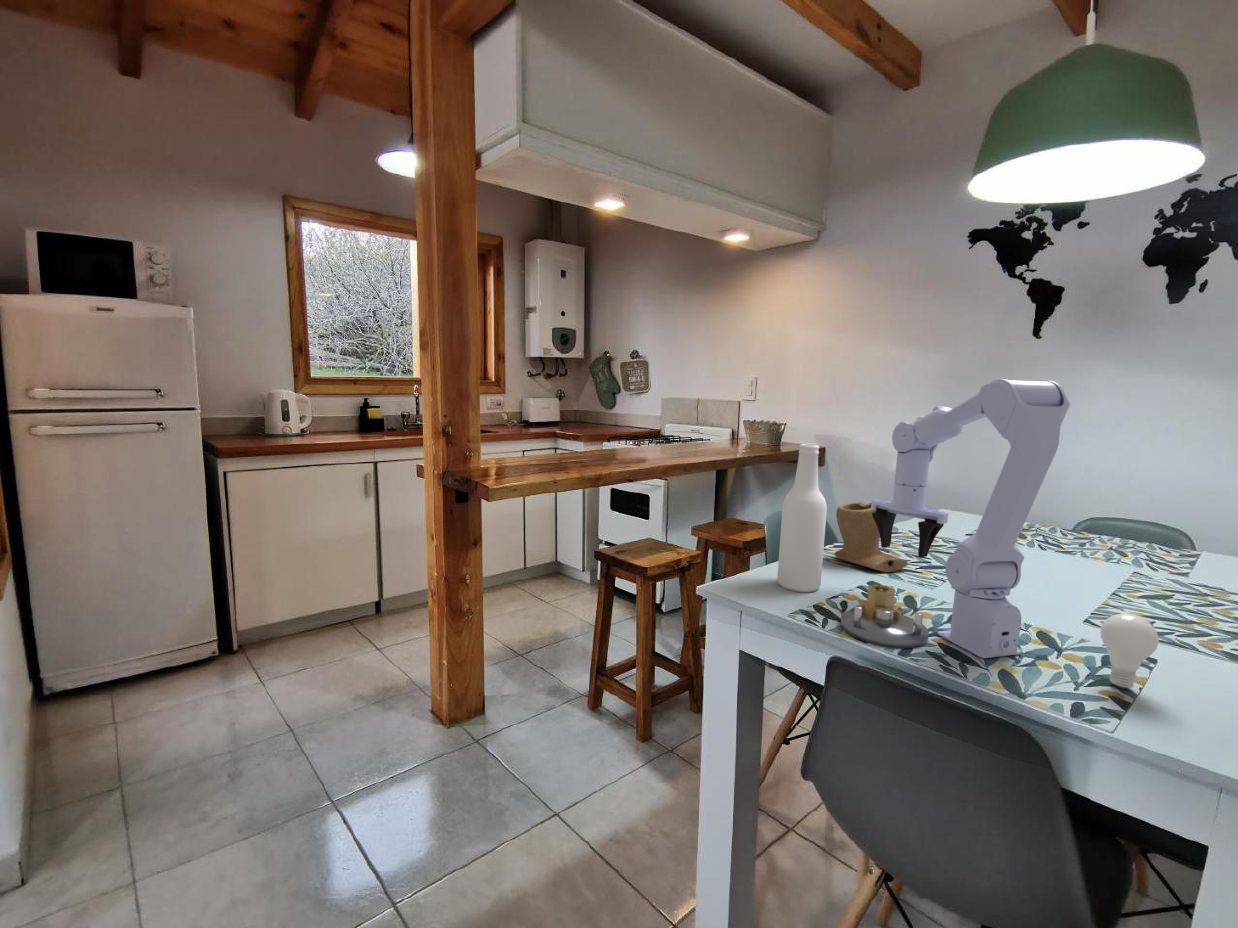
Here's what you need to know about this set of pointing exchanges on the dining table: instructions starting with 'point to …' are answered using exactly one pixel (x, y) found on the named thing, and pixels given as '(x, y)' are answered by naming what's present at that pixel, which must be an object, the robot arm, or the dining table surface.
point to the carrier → (885, 628)
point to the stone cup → (863, 539)
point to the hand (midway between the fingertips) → (903, 551)
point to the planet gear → (880, 601)
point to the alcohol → (803, 527)
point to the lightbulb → (1127, 646)
